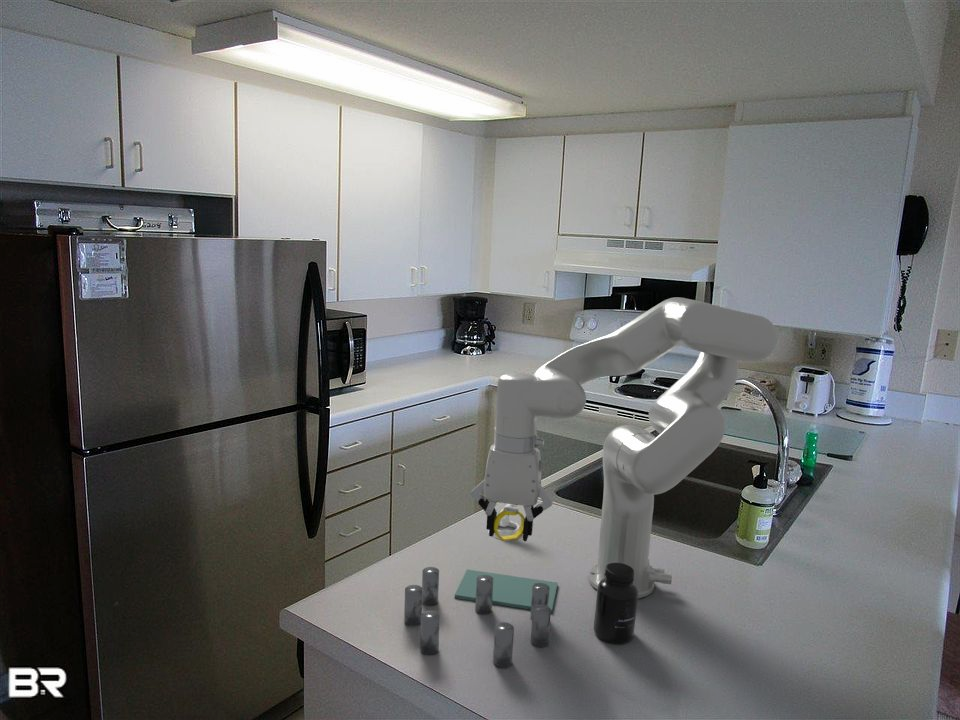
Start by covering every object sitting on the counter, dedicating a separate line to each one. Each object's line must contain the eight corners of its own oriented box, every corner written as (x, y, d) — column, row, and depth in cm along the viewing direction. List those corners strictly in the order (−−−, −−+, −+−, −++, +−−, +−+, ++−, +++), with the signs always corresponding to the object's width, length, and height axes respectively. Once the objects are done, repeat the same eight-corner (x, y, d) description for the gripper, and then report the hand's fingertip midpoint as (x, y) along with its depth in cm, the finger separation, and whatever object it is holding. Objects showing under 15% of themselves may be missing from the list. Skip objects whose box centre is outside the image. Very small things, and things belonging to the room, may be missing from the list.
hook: (545, 519, 149) (521, 504, 147) (511, 556, 153) (486, 541, 150) (540, 500, 156) (516, 485, 154) (506, 535, 159) (483, 520, 157)
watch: (519, 535, 129) (523, 505, 128) (525, 541, 126) (529, 511, 125) (490, 536, 126) (494, 506, 125) (495, 543, 124) (500, 512, 123)
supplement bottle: (625, 650, 112) (631, 583, 110) (587, 636, 116) (592, 570, 113) (639, 631, 118) (645, 566, 116) (602, 618, 121) (607, 555, 119)
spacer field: (553, 616, 121) (556, 585, 120) (542, 675, 105) (544, 639, 104) (419, 595, 126) (420, 565, 125) (387, 648, 110) (388, 614, 109)
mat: (557, 585, 132) (557, 582, 132) (551, 612, 122) (551, 609, 122) (466, 572, 135) (467, 569, 135) (454, 597, 126) (454, 594, 126)
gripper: (564, 441, 125) (557, 533, 128) (473, 431, 128) (468, 521, 131) (560, 453, 118) (553, 551, 121) (463, 442, 121) (459, 537, 124)
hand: (509, 534), depth 126 cm, fingers closed on watch, 5 cm apart
